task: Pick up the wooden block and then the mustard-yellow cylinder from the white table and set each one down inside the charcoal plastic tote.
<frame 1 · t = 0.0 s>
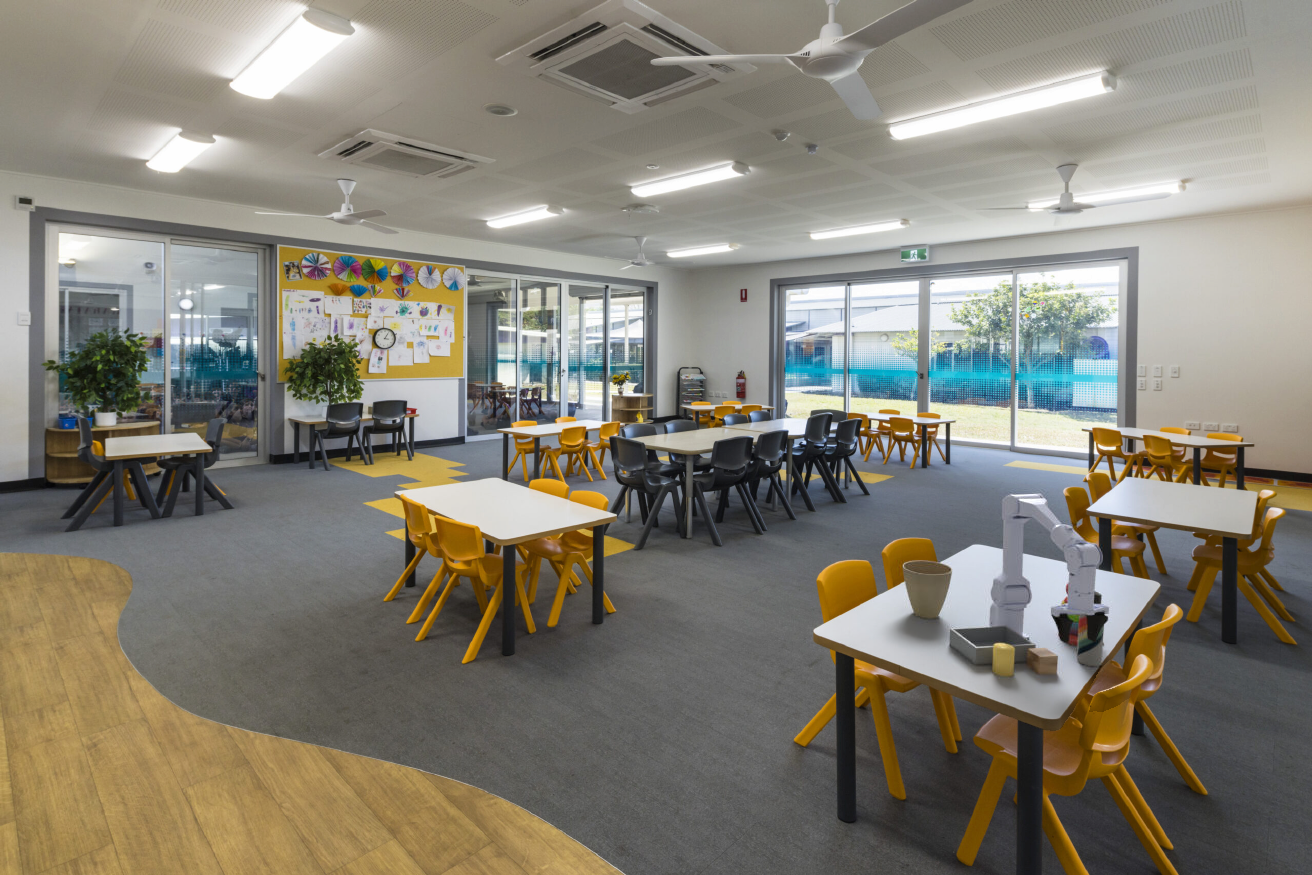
hand: (1077, 640, 172), 10 cm above the table, tool pointing down, fingers open, 7 cm apart
wooden block: (1041, 669, 178), on the table
lotion bottle: (1088, 662, 182), on the table
tote: (990, 653, 189), on the table
mustard cylinder: (1002, 672, 177), on the table
plant pot: (925, 615, 217), on the table
stacking bear: (1076, 638, 198), on the table
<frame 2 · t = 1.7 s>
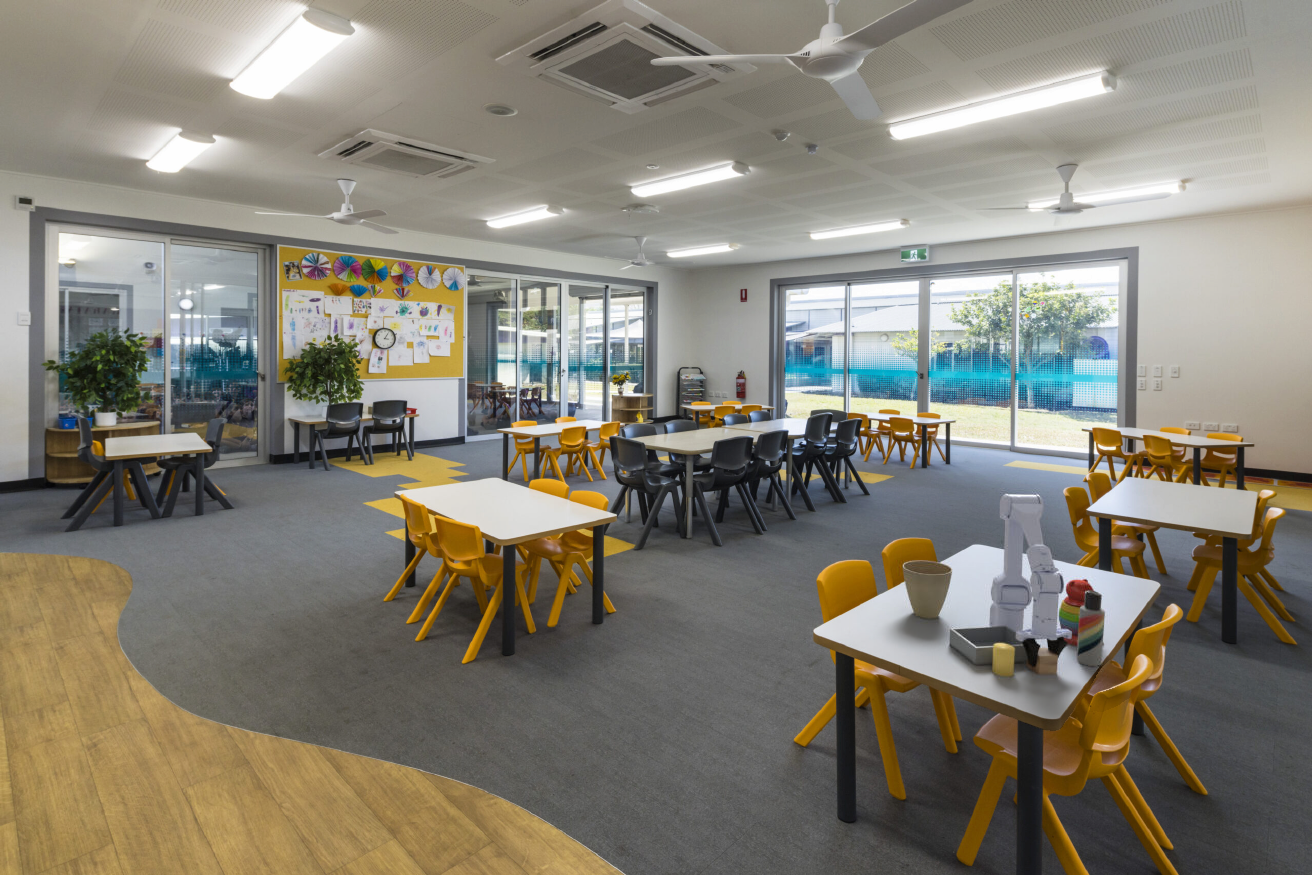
hand: (1041, 664, 178), 1 cm above the table, tool pointing down, fingers closed on wooden block, 5 cm apart
wooden block: (1041, 669, 178), on the table, touching gripper
everything else where it was.
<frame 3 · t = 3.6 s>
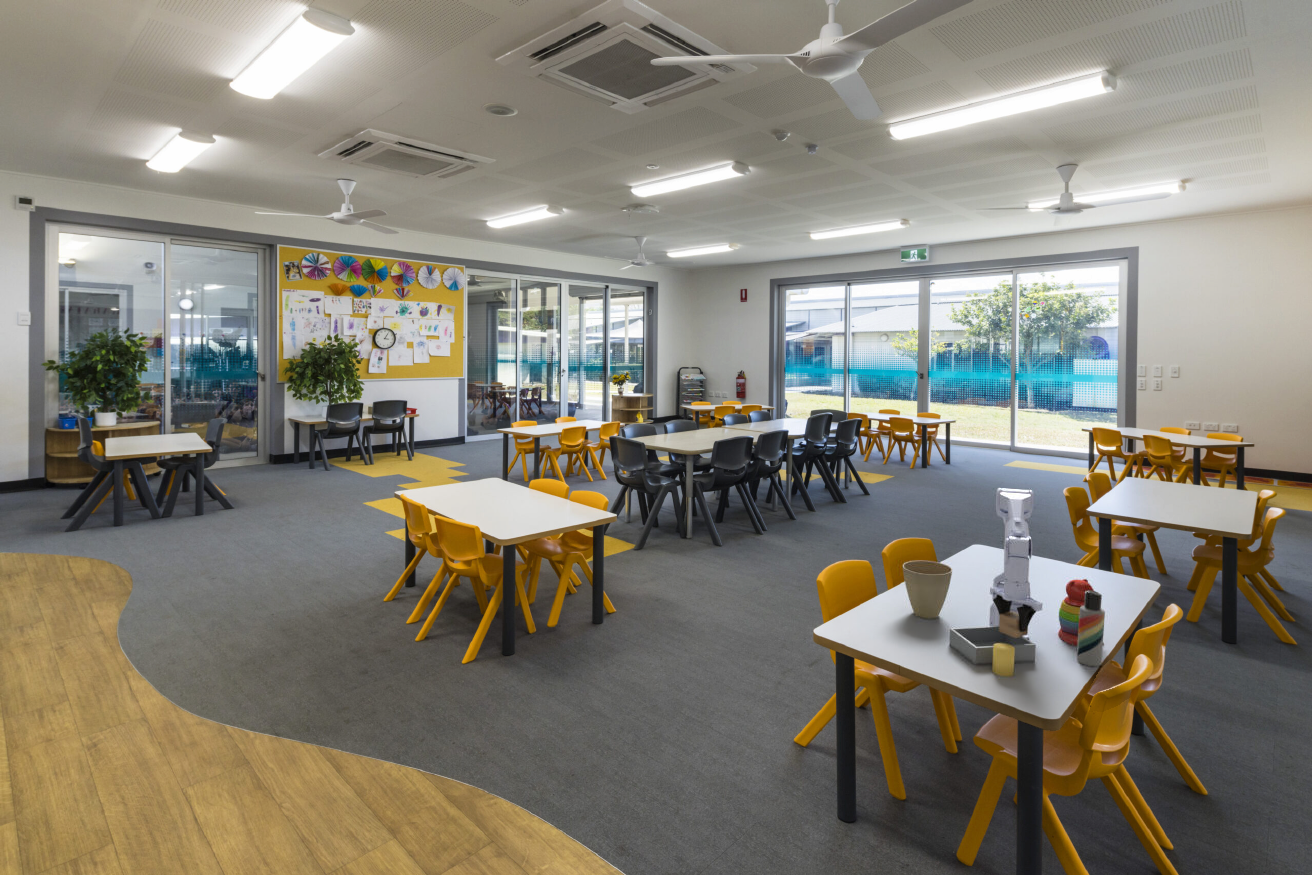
hand: (1013, 627, 185), 9 cm above the table, tool pointing down, fingers closed on wooden block, 5 cm apart
wooden block: (1013, 632, 185), point 7 cm above the table, touching gripper
everything else where it was.
when the fingers open (4 cm above the table, at t = 5.4 s): wooden block drops 1 cm, resting on tote.
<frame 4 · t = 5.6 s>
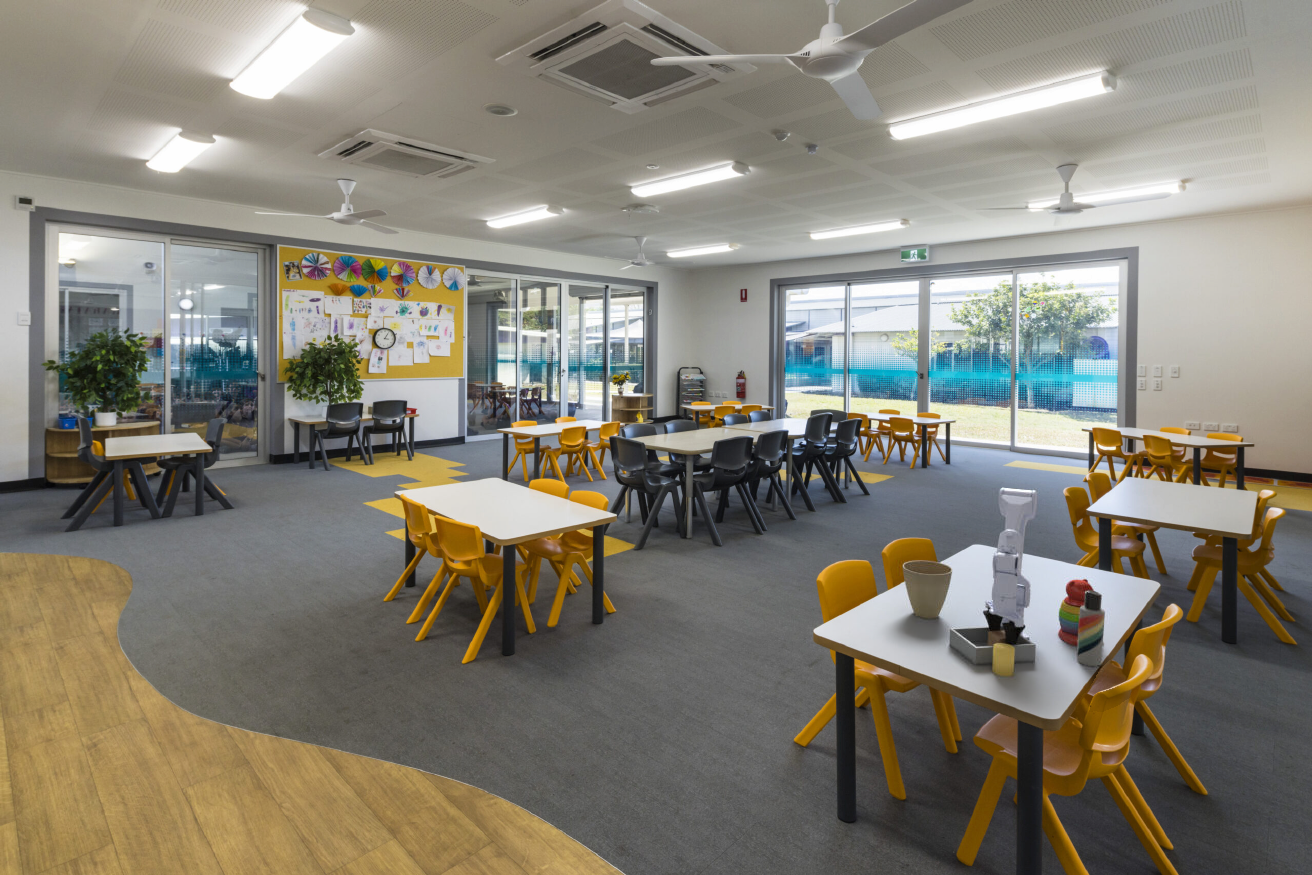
hand: (1002, 641, 188), 4 cm above the table, tool pointing down, fingers open, 7 cm apart
wooden block: (1001, 651, 188), point 1 cm above the table, touching tote
everything else where it was.
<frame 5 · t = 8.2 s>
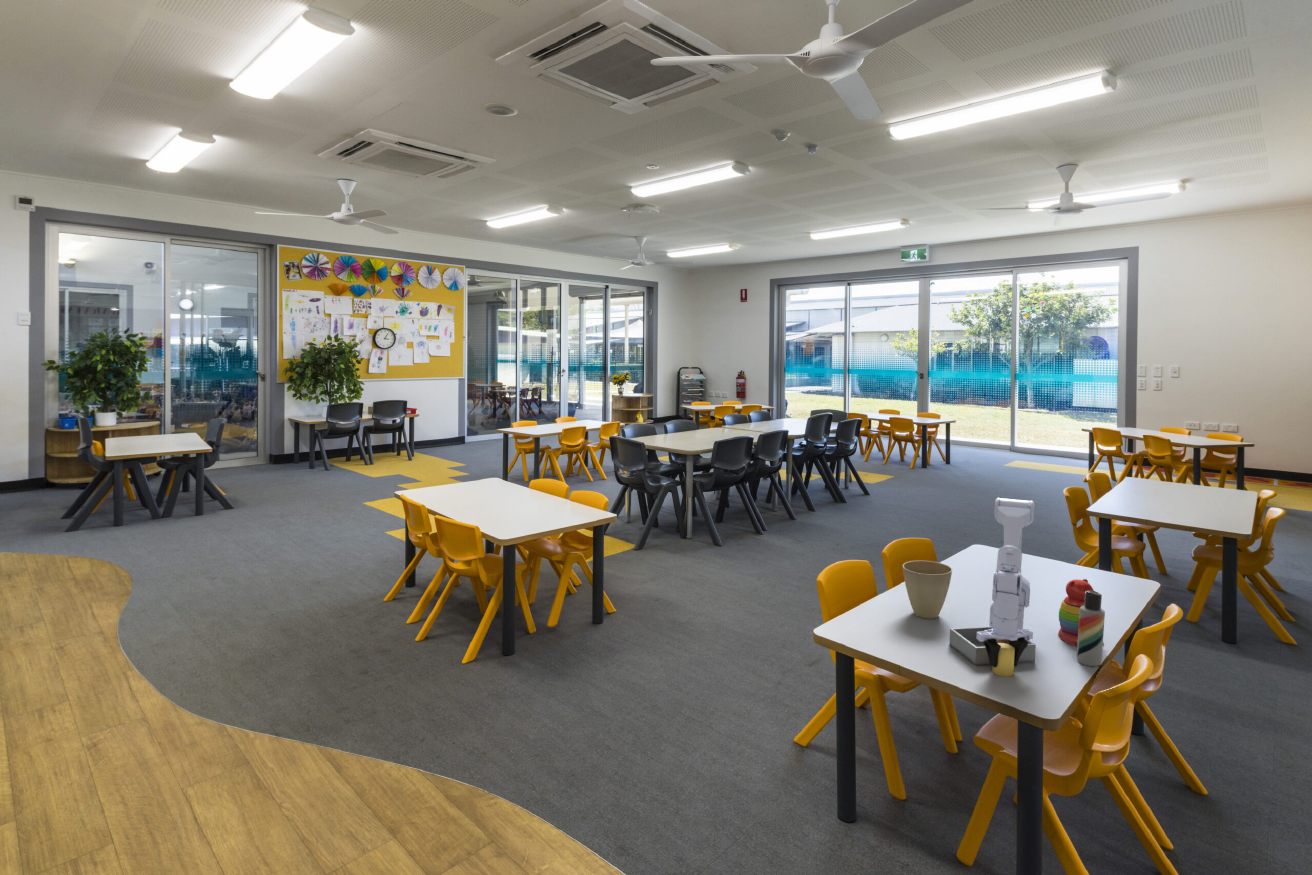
hand: (1003, 665, 177), 2 cm above the table, tool pointing down, fingers closed on mustard cylinder, 5 cm apart
mustard cylinder: (1002, 671, 177), on the table, touching gripper
everything else where it was.
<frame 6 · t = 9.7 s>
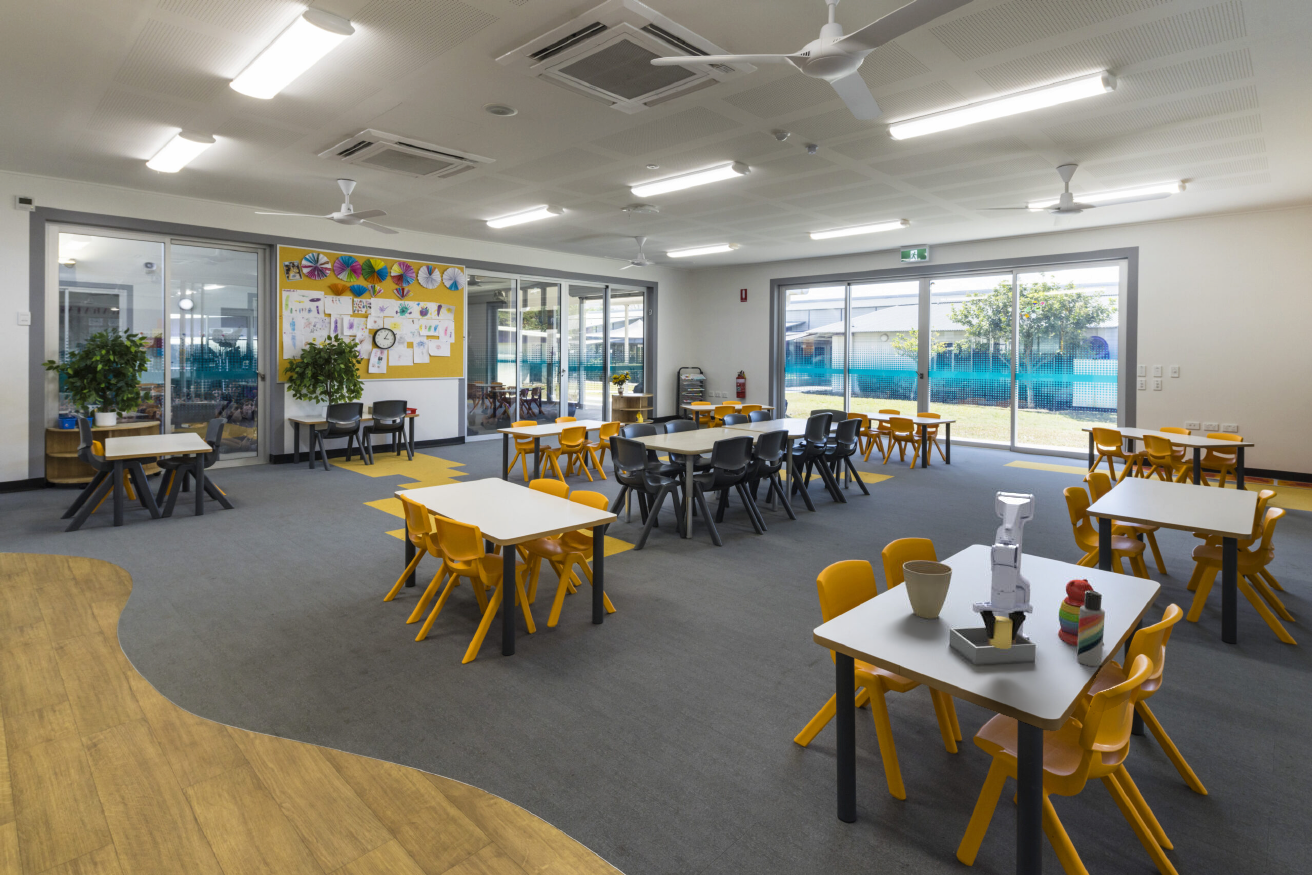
hand: (1000, 637, 178), 9 cm above the table, tool pointing down, fingers closed on mustard cylinder, 5 cm apart
mustard cylinder: (1000, 644, 178), point 7 cm above the table, touching gripper
everything else where it was.
when the fingers open (4 cm above the table, at t = 11.6 s): mustard cylinder drops 1 cm, resting on tote.
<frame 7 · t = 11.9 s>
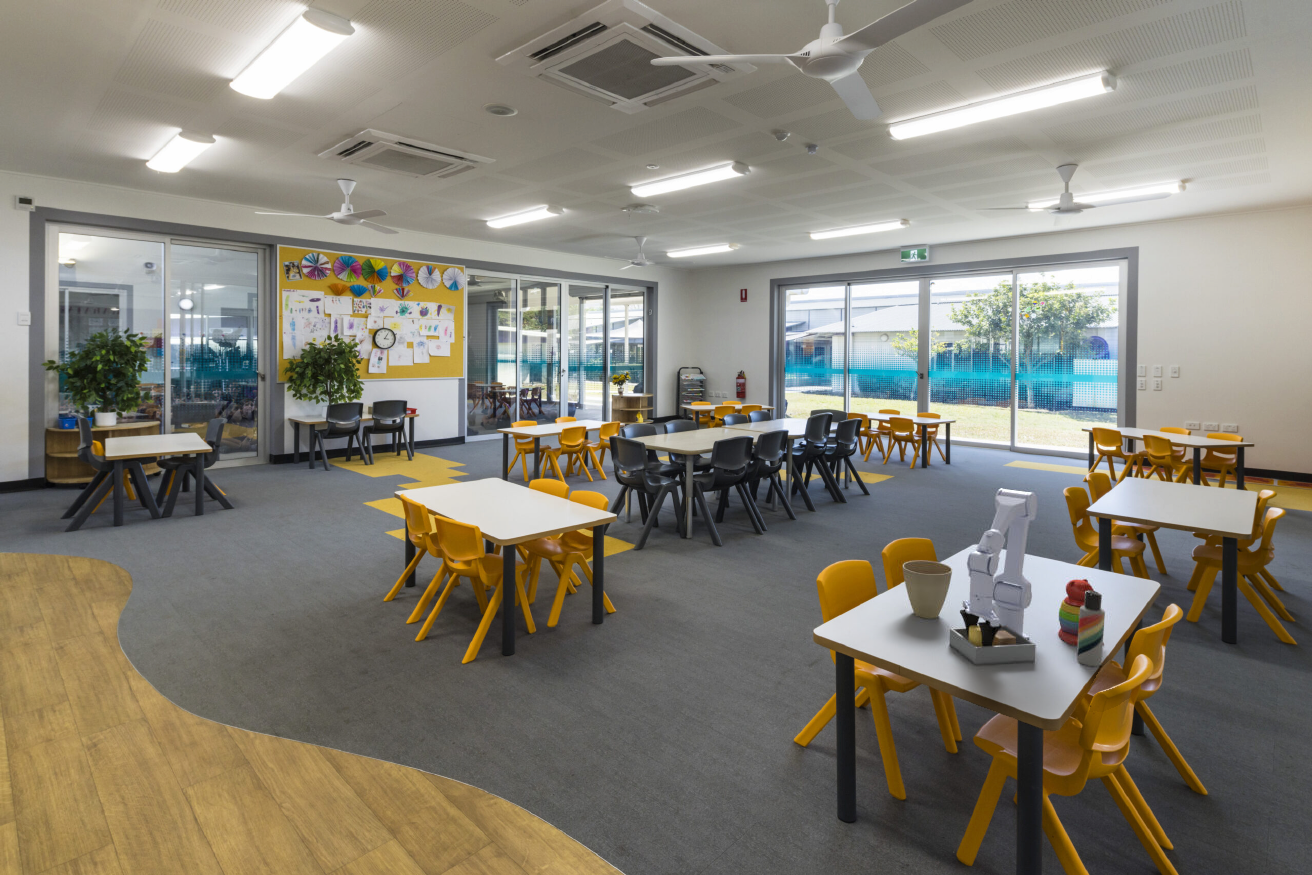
hand: (978, 641, 187), 4 cm above the table, tool pointing down, fingers open, 7 cm apart
mustard cylinder: (977, 652, 188), point 1 cm above the table, touching tote
everything else where it was.
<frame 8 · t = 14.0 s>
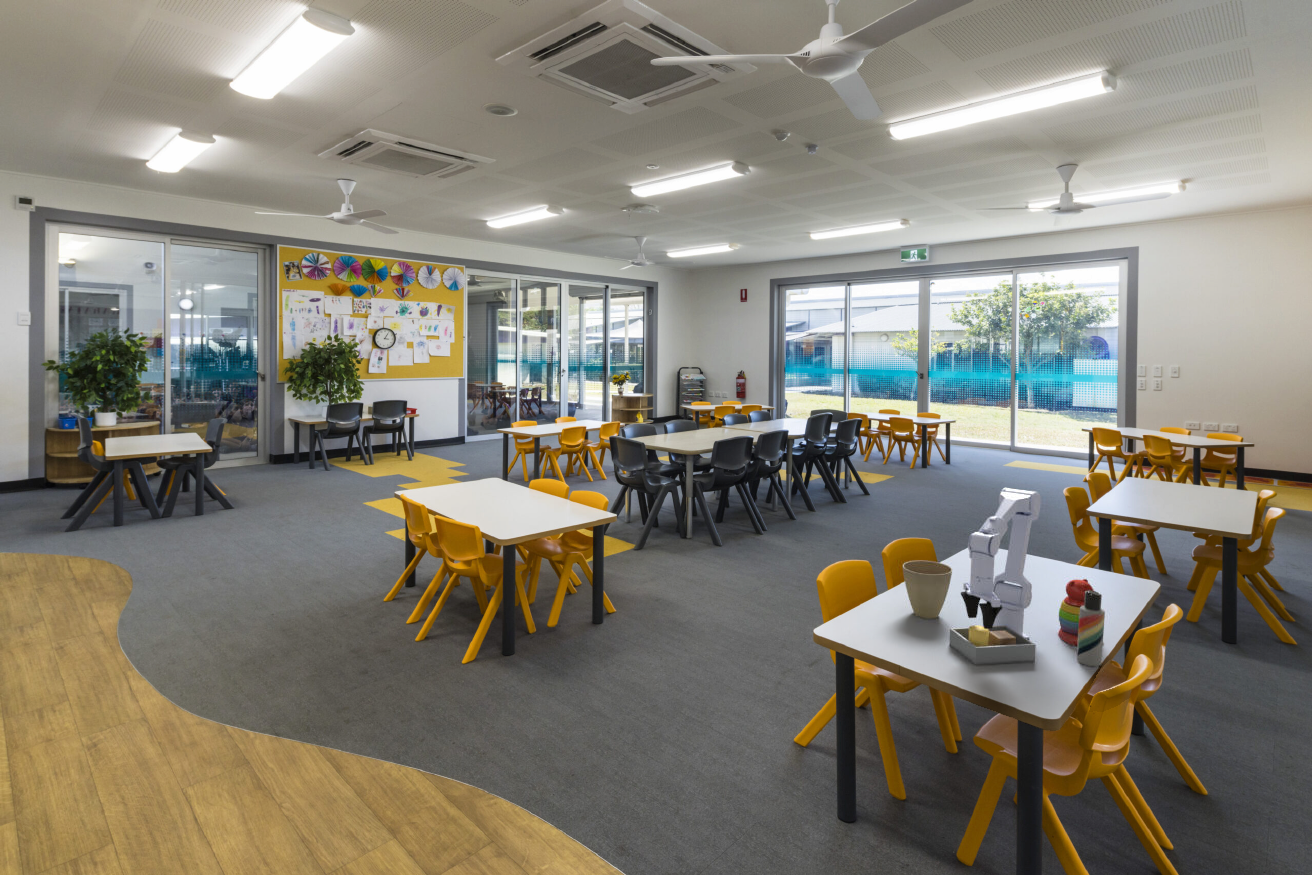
hand: (979, 622, 187), 9 cm above the table, tool pointing down, fingers open, 7 cm apart
nothing on the table moved.
at the end: wooden block inside the target area on the tote (2.8 cm from its centre), point 0.6 cm above the tote's base; mustard cylinder inside the target area on the tote (4.2 cm from its centre), point 0.6 cm above the tote's base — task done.
